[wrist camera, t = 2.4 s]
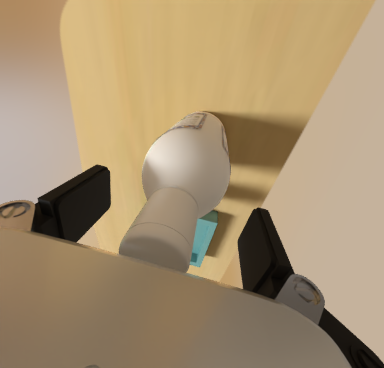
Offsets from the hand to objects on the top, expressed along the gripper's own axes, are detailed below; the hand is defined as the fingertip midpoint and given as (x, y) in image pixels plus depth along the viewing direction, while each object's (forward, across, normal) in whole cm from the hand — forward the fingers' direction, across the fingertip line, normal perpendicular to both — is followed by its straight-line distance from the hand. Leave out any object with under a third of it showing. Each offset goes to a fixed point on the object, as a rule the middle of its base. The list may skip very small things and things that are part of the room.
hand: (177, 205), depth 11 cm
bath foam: (+16, 0, -1) cm, 16 cm away
